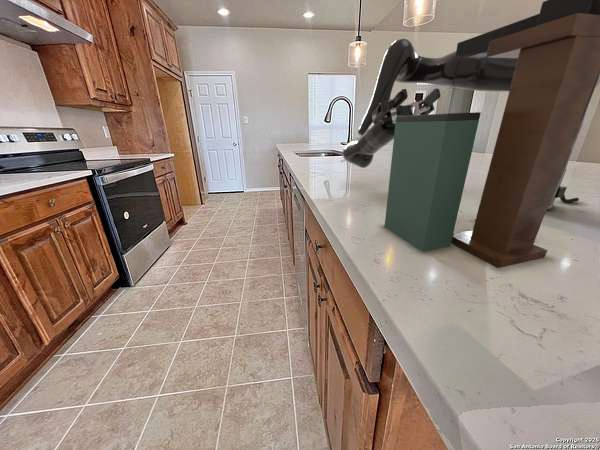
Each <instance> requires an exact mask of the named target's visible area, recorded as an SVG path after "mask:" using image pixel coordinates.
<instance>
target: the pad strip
mask: <svg viewBox="0 0 600 450" xmlns="http://www.w3.org/2000/svg"><path fill="white" fill-rule="evenodd" d="M576 13H582V14H593V15H600V0H544V1H542V3H541V6H540V10H539V13H537V14H534V15H532V16H529V17H525V18H524V19H520V20H518V21H515V22H512V23H510V24H507V25H504V26H501V27H498V28H496V29H493V30H490V31H487V32H484V33H481V34H479V35H476V36H473V37H471V38H468V39H465V40H462V41H459V42H457V44H456V50H455V51H456V55H455V56H459V57H470V56H473V55H476V54H480V53H483V52H487V51H488V47H489V42H490V41H492V40H495V39H498V38H502V37H505V36H508V35H511V34H514V33H517V32H520V31H523V30H526V29H529V28H532V27H536V26H539V25H542V24H545V23H548V22H551V21H554V20H557V19H560V18H563V17H566V16H570V15H573V14H576Z"/></svg>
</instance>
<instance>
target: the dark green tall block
mask: <svg viewBox="0 0 600 450" xmlns="http://www.w3.org/2000/svg"><path fill="white" fill-rule="evenodd" d="M481 114H482V112H479V111H477V112H476V111H475V112H450V113H449V112H447V113H433V114H431V113H429V114H428V115H412V116H396V124H395V133H394V139H393V142H392V151H391V152H392V153H391V162H390V172H389V181H388V192H387V199H386V209H385V218H384V228H386V230H389V231H390V232H392V233H393V234H395V235H396V236H398V237H400V238H401V239H402V240H404V241H406V242H407V243H409V244H410V245H412V246H413V247H415V248H416V249H418V250H419V251H421V252H429V251H434V250H439V249H445V248H449V247H451V246H452V244H451V241H452V237H453V233H455V226H456V225H457V224H456V223H457V218H458V215H459V210H460V206H461V203H462V197H463V193H464V190H465V189H464V188H465V184H466V181H467V176H468V172H469V168H470V167H469V166H470V162H471V158H472V154H473V149H474V145H475V140H476V136H477V132H478V127H479V123H480V117H481Z"/></svg>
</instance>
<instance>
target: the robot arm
mask: <svg viewBox="0 0 600 450" xmlns="http://www.w3.org/2000/svg"><path fill="white" fill-rule="evenodd" d="M487 52H488V51H487ZM487 52H483V53H480V54H476V55H473V56H470V57H459V56H455V55H456V50H455V51H452V52H450V53H448V54H446V55H443V56H440V57H427V56H421V55H419V54H418V53H417V51H416V48H415V47H414V45H413V44H412V42H411V41H410V40H409V39H407V38H400V39H397V40H395V41H394V42H393V43H391V44H390V46H389V47H388V48H387V50H386V51H385V53H384V56H383V59H382V61H381V65H380V68H379V72H378V76H377V78H376V83H375V86H374V89H373V92H372V96H371V98H370V102H369V104H368V107H367V109H366V112H365V113H364V116H363V118H362V121H361V123H360V125H359V127H358V130H357V134H358V137H356V138H354V139H352V140H350V141H349V142H348V143H346V145H345V146H344V148H343V150H342V158H343V160H344V161H346V162H348V163H350V164H353V165H354V166H357V167H358V168H361V169H366V168H368V167H369V166H370V165H371V164H372V162H373V159H374V156H375V154H377V152H379V151H380V150H381V149H382V148H383V147H385V146H387V145H388V144H389V143H390V142H392V141H394V133H395V124H396V116H412V115H429V114H431V113H432V112H433V111H435V106H434V103H436V102H437V101H438V100H439V99H440V98H441V92H440V88H434V89H433V90H432V91H431V92H430V93H428V94H427V95H426V97H425V96H424V99H421V100H419V101H413V102H411V103H409V104H406V105H402V104H403V103H404V102H405V101H406V100H407V99H408V97H409V95H408V90H407V89H406V88H402V89H400V91H398V92H397V93H396V94H395V95H394V96H393V98H391V95H392V91H393V88H394V85H395V83H396V82H397V83H401V84H429V85H434V86H439V87H440V86H441V87H446V88H447V87H448V88H453V89H459V90H466V91H474V92H475V91H478V92H508V93H509V91H510V87H511V83H512V79H513V76H514V72H515V68H516V64H517V60H518V58H489V57H486V56H487ZM599 84H600V70H599V72H598V75H597V78H596V80H595V83H594V85H593V88H592V91H591V93H590V96H589V99H588V101H587V104H586V107H585V109H584V112H583V115H582V117H581V120H580V122H579V125H578V128H577V130H576V133H575V136H574V138H573V141H572V144H571V146H570V149H569V152H568V154H567V157H566V160H565V162H564V165H563V167H562V170H561V173H560V175H559V178H558V181H557V183H556V186H555V189H554V191H553V194H552V197H551V199H550V202H549V204H548V207H547V210H546V211H548V210H551V209H552V207H553V205H554V203H555V200H556V199H559V200H560V201H561V202H562V203H564V204H570V203H571V204H572V203H575V202H578V201H579V200H580V198H579V197H573V198H569V199H568V198H566V195H565V193H566V191H567V189H568V186H562V182H563V180H564V177H565V175H566V171H567V167H568V164H569V161H570V158H571V156H572V154H573V151H574V148H575V145H576V142H577V140H578V138H579V135H580V133H581V130H582V127H583V125H584V120H585V117H586V113H587V110H588V107H589V106H590V103H591V100H592V97H593V94H594V92H595V89H596V88H597V87H598V86H599ZM413 108H414V112H413Z"/></svg>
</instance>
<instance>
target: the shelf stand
mask: <svg viewBox="0 0 600 450" xmlns="http://www.w3.org/2000/svg"><path fill="white" fill-rule="evenodd" d="M486 57H489V58H518V60H517V64H516V68H515V72H514V76H513V79H512V83H511V87H510V91H509V92H508V95H507V99H506V103H505V105H504V111H503V115H502V118H501V121H500V125H499V129H498V133H497V137H496V141H495V145H494V148H493V152H492V156H491V160H490V163H489V167H488V170H487V175H486V179H485V183H484V186H483V190H482V194H481V198H480V201H479V205H478V206H479V207H478V209H477V214H476V217H475V221H474V224H473V229H471V230H466V231H459V232H453V237H452V241H451V245H452V246H455V247H457V248H458V249H461V250H462V251H464V252H466V253H468V254H470V255H471V256H474V257H475V258H477V259H479V260H481V261H483V262H485V263H486V264H489V265H490V266H492V267H494V268H496V269H500V268H505V267H510V266H514V265H518V264H523V263H527V262H532V261H536V260H541V259H545V258H546V256H547V253H548V249H546V248H543V247H541V246H538V245H536V244H535V241H536V239H537V236H538V233H539V230H540V228H541V226H542V222H543V221H544V218H545V215H546V212H547V211H548V210H547V207H548V204H549V202H550V199H551V197H552V194H553V191H554V189H555V186H556V183H557V181H558V178H559V175H560V173H561V170H562V167H563V165H564V162H565V160H566V157H567V154H568V152H569V149H570V146H571V144H572V141H573V138H574V136H575V133H576V130H577V128H578V125H579V122H580V120H581V117H582V115H583V112H584V109H585V107H586V104H587V101H588V99H589V96H590V93H591V91H592V88H593V85H594V83H595V80H596V78H597V75H598V72H599V70H600V15H593V14H582V13H576V14H573V15H570V16H566V17H563V18H560V19H557V20H554V21H551V22H548V23H545V24H542V25H539V26H536V27H532V28H529V29H526V30H523V31H520V32H517V33H514V34H511V35H508V36H505V37H502V38H498V39H495V40H492V41H490V42H489V47H488V52H487V56H486Z"/></svg>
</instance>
